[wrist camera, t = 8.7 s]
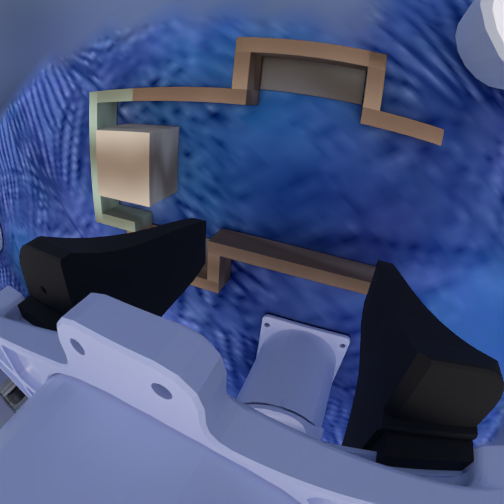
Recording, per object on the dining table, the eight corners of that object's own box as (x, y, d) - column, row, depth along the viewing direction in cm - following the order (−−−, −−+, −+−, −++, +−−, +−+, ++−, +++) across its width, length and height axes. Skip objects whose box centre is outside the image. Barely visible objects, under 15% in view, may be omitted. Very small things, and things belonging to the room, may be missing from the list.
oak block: (177, 191, 25) (149, 207, 22) (128, 181, 26) (98, 195, 23) (180, 126, 22) (149, 132, 19) (128, 123, 24) (95, 130, 20)
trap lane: (377, 317, 24) (376, 337, 22) (116, 243, 30) (100, 253, 28) (442, 77, 14) (452, 74, 12) (112, 54, 21) (92, 53, 19)
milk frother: (42, 386, 73) (15, 415, 61) (11, 349, 72) (-18, 376, 60) (45, 377, 66) (14, 410, 53) (10, 335, 64) (-23, 364, 52)
